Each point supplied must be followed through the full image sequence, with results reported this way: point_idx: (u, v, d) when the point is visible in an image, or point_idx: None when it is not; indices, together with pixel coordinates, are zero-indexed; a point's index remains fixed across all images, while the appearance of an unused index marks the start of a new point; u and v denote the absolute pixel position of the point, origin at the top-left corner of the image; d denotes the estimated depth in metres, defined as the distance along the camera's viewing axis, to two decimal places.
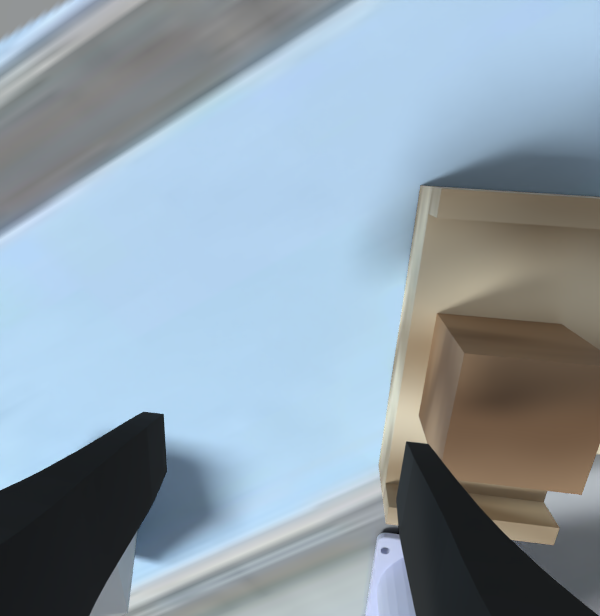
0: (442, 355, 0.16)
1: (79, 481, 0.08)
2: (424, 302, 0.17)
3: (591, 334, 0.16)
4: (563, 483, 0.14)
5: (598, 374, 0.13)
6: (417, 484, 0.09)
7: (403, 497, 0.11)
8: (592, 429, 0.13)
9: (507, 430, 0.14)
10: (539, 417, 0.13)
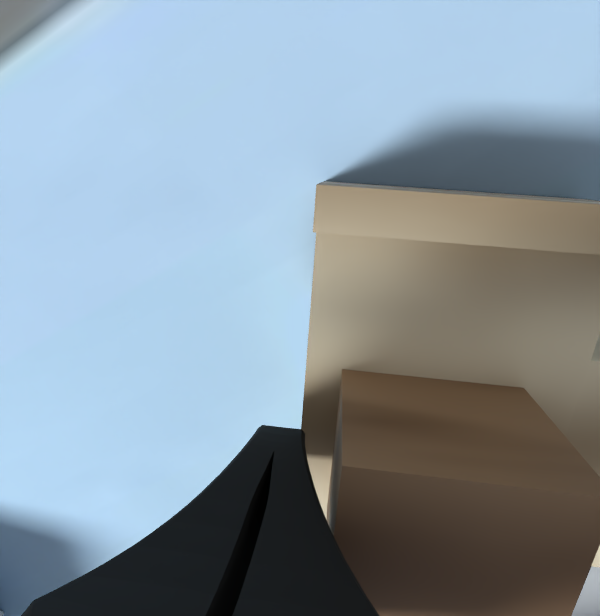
0: (337, 441, 0.10)
1: (249, 502, 0.08)
2: (322, 353, 0.11)
3: (567, 403, 0.11)
4: None
5: (569, 506, 0.07)
6: None
7: None
8: (561, 587, 0.08)
9: (423, 583, 0.08)
10: (473, 566, 0.08)
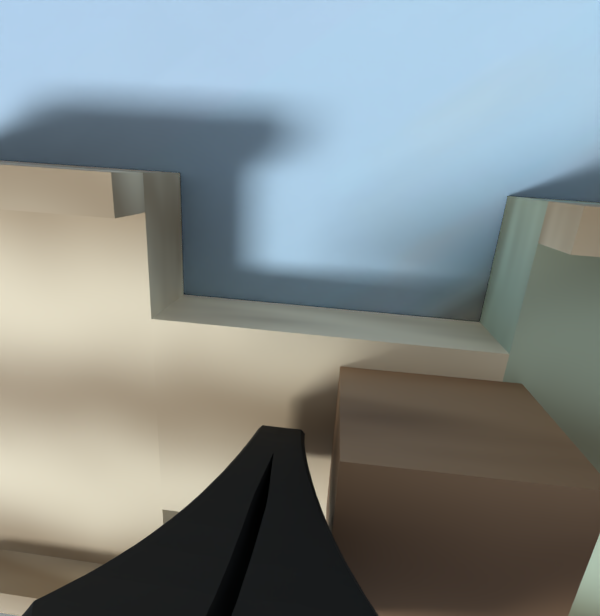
0: (335, 438, 0.10)
1: (249, 503, 0.08)
2: None
3: (146, 360, 0.12)
4: None
5: (567, 500, 0.07)
6: None
7: None
8: (560, 582, 0.08)
9: (421, 579, 0.08)
10: (471, 561, 0.08)
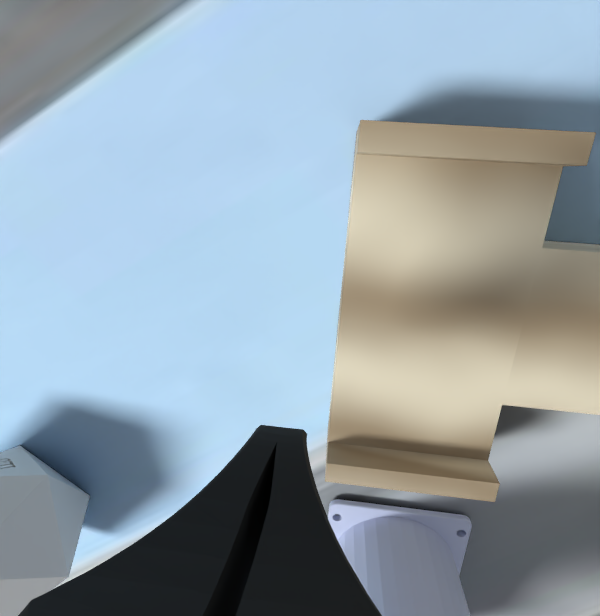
0: None
1: (247, 502, 0.08)
2: (357, 249, 0.16)
3: (527, 281, 0.16)
4: None
5: None
6: None
7: None
8: None
9: None
10: None
